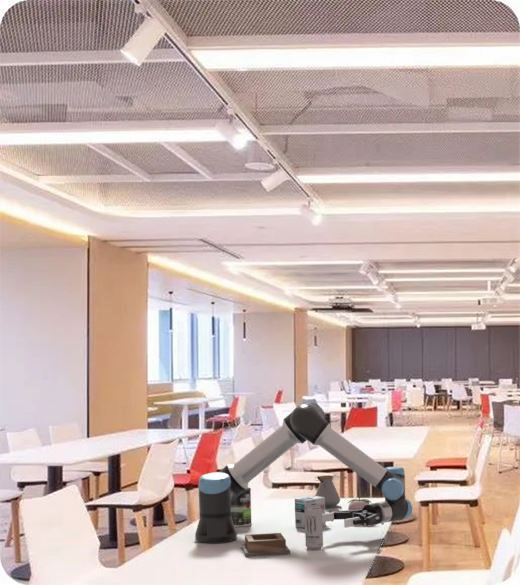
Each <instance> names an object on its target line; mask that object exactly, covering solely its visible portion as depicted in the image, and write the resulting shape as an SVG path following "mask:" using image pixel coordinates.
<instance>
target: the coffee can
mask: <svg viewBox="0 0 520 585" xmlns="http://www.w3.org/2000/svg"><path fill="white" fill-rule="evenodd" d="M251 490H252V489H251V487H248V488H247V489H246V490H245V491H244V492H242V493H241V494H240V495H239V496H237V498H236V499H235V500H233V501H232V502H231V517H232V521H233V524H234V526H235V528H242V527H243V528H244V527H248V526H251V525H252V498H251V496H252V494H251V492H252V491H251Z"/></svg>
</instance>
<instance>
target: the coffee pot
mask: <svg viewBox="0 0 520 585" xmlns="http://www.w3.org/2000/svg"><path fill="white" fill-rule="evenodd" d="M334 477H335V476H334V475H319V476H316V477H314V479H315V482H318V481H319V485H318V487H317V491H316V492H315V495H314V496H319V497H325V509H328V508H329V509H330V508H335V507H337V505H339V504H340V502H341V497H340V496H339V493H338V491H337V488H336V487H335V485H334V482H333V479H334ZM316 478H317V480H316Z"/></svg>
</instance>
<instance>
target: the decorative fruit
mask: <svg viewBox="0 0 520 585" xmlns="http://www.w3.org/2000/svg"><path fill="white" fill-rule="evenodd" d="M347 504H348V509H347V510H353V509H354V510H362V509H363V507H364V506H365V505H367V504H372V501H371V500H369V499H367V498H362V499H361V497H360V496H358V498H354V499H351V500H349V501H348V502H347ZM353 518H354V517H353Z"/></svg>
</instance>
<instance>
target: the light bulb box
mask: <svg viewBox="0 0 520 585" xmlns="http://www.w3.org/2000/svg"><path fill="white" fill-rule="evenodd" d="M310 503H318V504H320V507H321V508H322V514H326V508H325V497H319V496H315V495H310V496H305V497H304V496H303V497H298V498H294V521H295V522H294V524H295V527H296V528H303V529H305V508H306V504H310ZM322 526H326V522H322Z"/></svg>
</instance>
